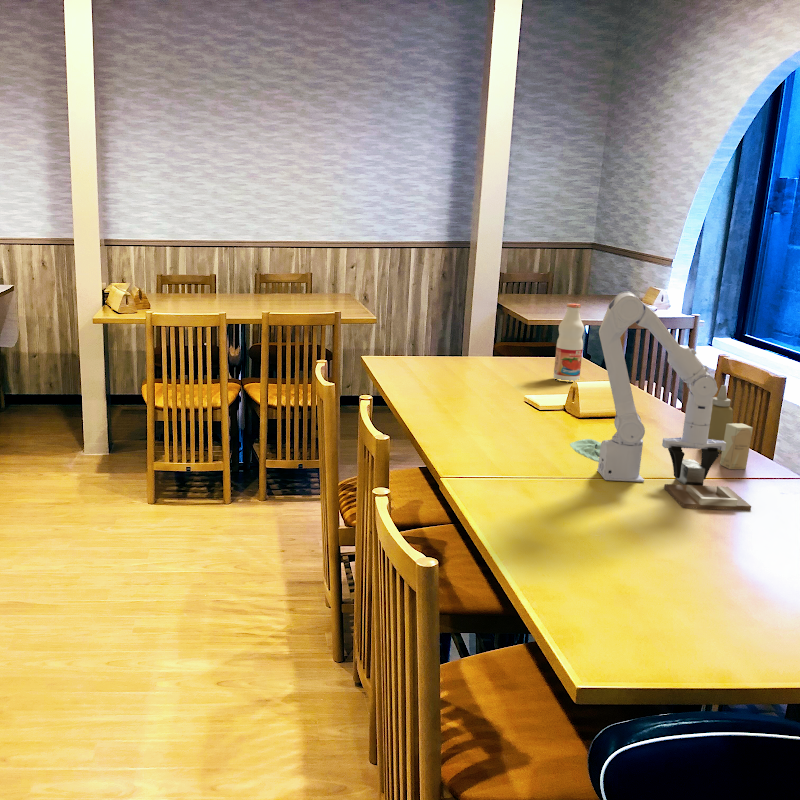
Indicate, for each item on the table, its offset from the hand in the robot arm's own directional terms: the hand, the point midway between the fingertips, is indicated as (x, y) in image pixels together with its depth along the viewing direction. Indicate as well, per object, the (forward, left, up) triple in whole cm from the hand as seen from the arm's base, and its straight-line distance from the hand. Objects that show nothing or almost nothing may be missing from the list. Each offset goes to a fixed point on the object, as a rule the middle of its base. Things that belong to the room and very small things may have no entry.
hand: (689, 477), depth 209 cm
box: (+17, +15, -2) cm, 23 cm away
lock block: (0, 0, -2) cm, 2 cm away
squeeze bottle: (+18, +30, -2) cm, 35 cm away
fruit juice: (-4, +115, -2) cm, 115 cm away
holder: (0, -11, -1) cm, 11 cm away
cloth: (-14, +23, -2) cm, 27 cm away
